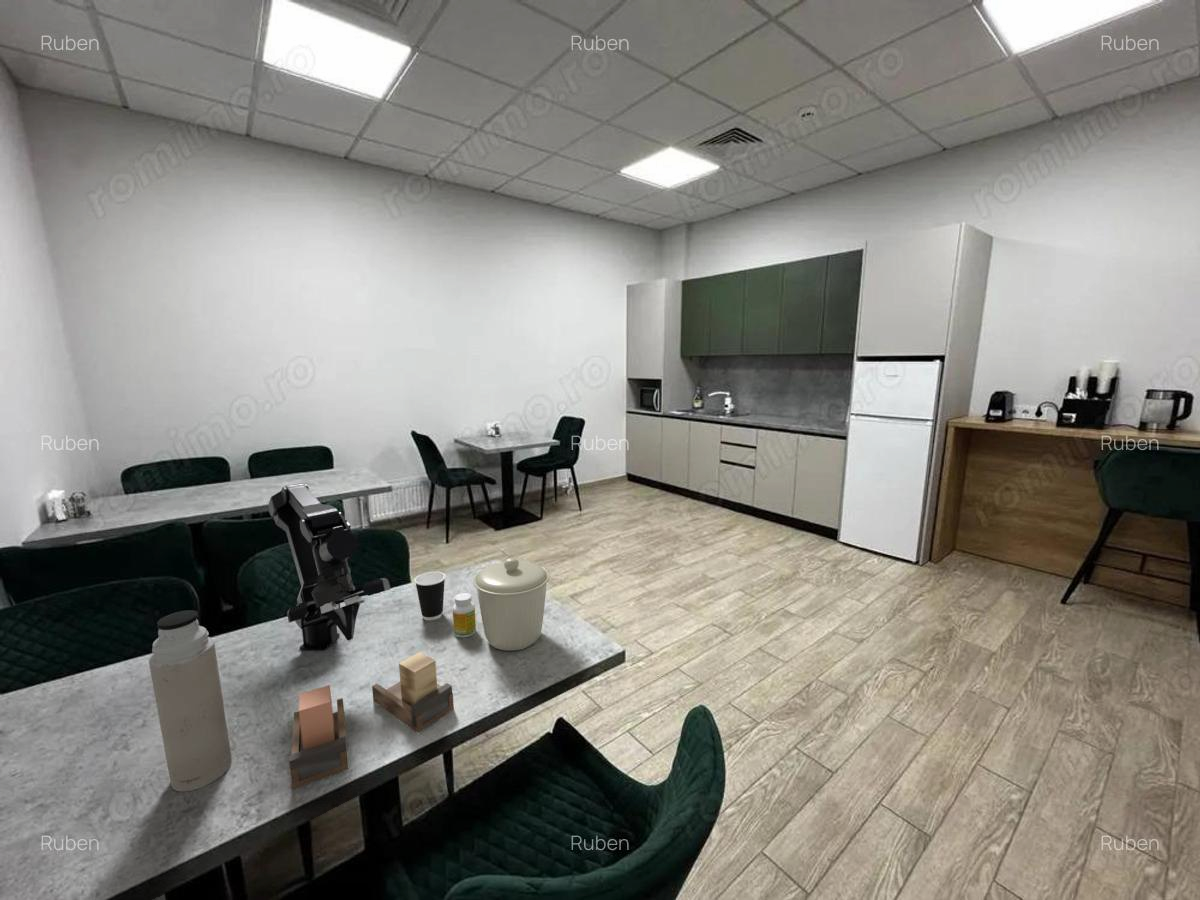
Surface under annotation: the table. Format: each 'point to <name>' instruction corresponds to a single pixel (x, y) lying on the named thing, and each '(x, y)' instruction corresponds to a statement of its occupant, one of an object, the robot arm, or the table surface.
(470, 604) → the supplement bottle
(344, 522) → the robot arm
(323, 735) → the terracotta slider
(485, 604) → the canister
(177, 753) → the thermos bottle
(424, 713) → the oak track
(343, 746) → the dark wooden block holder
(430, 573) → the dixie cup
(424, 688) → the oak slider
